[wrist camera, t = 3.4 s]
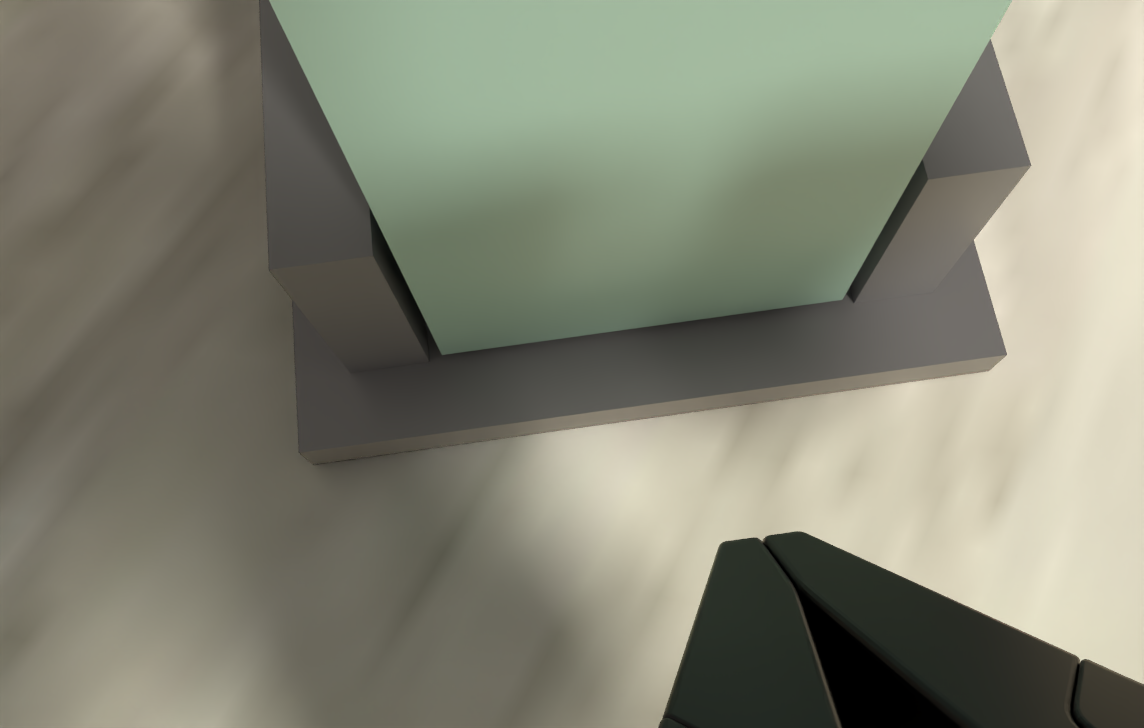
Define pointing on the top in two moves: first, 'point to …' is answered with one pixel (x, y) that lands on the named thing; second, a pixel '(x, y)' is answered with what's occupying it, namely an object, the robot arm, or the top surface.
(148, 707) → the top surface
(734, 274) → the pale green tall block
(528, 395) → the switch housing
